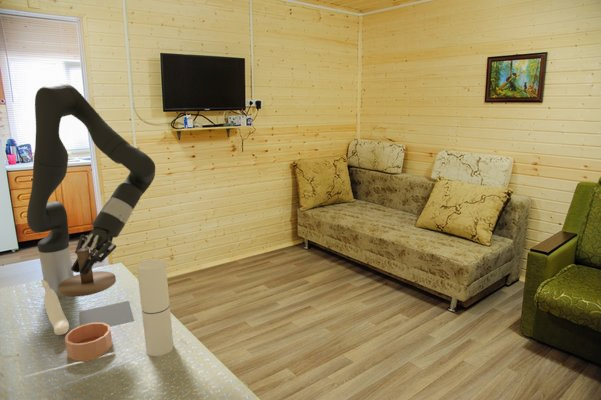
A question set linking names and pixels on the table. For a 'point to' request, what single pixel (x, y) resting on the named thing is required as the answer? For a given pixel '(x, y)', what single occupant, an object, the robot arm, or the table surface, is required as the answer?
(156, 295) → the cylindrical container
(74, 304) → the table surface
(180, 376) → the table surface
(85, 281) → the walnut lid
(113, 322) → the rubber mat
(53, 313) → the banana
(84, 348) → the terracotta bowl
